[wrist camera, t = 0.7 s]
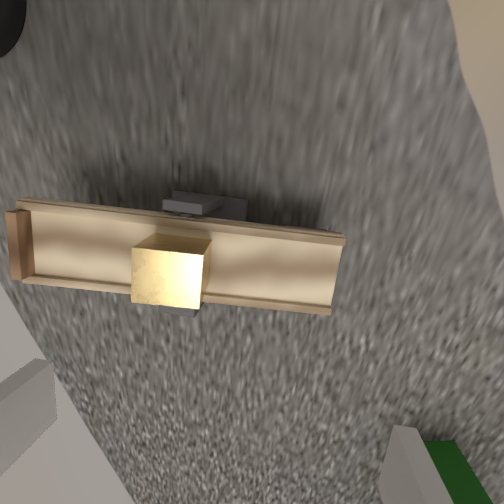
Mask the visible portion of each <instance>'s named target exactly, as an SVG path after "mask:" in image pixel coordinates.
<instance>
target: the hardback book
mask: <svg viewBox="0 0 504 504" xmlns="http://www.w3.org/2000/svg"><path fill="white" fill-rule="evenodd" d="M423 443H424V445H425V447H426V449H427V451H428V453H429V455H430V457H431V459H432V461H433V463H434V465H435V467H436V469H437V471H438V473H439V475H440V477H441V479H442V481H443V483H444V485H445V487H446V489H447V491H448V493H449V495H450V497H451V499H452V501H453V503H454V504H493V503H492V501H491V500H490V498H489V496H488V495H487V493H486V491H485V490H484V488H483V487H482V485H481V483H480V482H479V480H478V478H477V477H476V475H475V474H474V472H473V470H472V469H471V467H470V466H469V464H468V462H467V461H466V459H465V457H464V456H463V454H462V453H461V451H460V449H459V448H458V446H457V445H456V443H455V441H427V442H423Z"/></svg>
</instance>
